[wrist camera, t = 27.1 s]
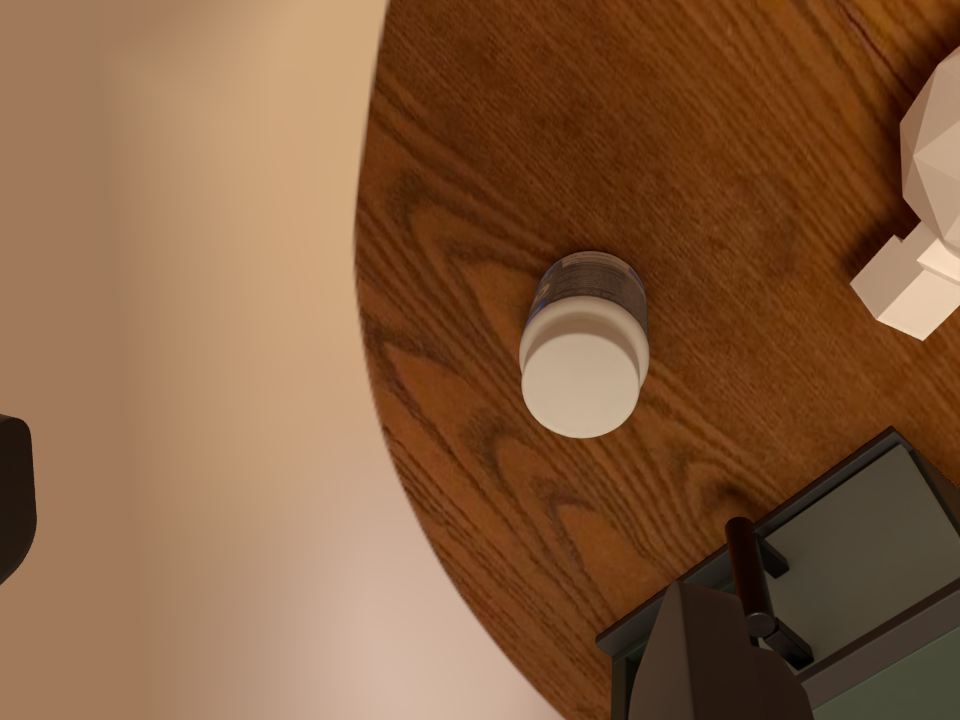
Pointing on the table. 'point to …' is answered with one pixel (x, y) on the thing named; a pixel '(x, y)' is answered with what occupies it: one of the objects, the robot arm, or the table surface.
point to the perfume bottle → (923, 216)
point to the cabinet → (862, 663)
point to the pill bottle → (585, 345)
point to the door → (844, 562)
